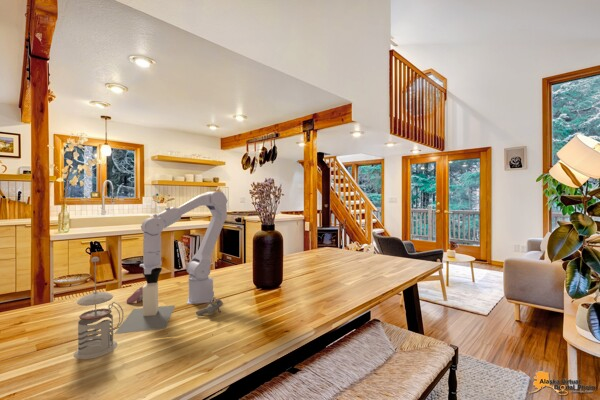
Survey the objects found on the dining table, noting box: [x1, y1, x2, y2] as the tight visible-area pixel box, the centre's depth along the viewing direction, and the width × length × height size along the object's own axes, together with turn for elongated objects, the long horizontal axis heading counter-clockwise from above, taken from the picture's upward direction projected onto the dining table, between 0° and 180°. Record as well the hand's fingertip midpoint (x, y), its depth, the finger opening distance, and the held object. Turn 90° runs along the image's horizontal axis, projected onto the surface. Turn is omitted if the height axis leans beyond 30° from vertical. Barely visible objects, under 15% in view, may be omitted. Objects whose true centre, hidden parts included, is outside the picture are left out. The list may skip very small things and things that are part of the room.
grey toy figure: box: [195, 298, 224, 318], centre depth 101 cm, size 10×6×9 cm
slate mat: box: [113, 304, 176, 335], centre depth 99 cm, size 14×20×1 cm
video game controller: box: [126, 285, 144, 304], centre depth 117 cm, size 10×5×7 cm, turn 169°
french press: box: [73, 256, 124, 360], centre depth 79 cm, size 10×12×25 cm
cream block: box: [142, 282, 159, 316], centre depth 102 cm, size 4×4×10 cm
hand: (152, 289), depth 105 cm, fingers closed
